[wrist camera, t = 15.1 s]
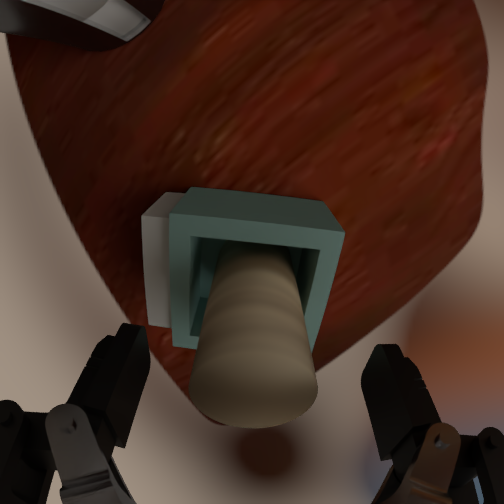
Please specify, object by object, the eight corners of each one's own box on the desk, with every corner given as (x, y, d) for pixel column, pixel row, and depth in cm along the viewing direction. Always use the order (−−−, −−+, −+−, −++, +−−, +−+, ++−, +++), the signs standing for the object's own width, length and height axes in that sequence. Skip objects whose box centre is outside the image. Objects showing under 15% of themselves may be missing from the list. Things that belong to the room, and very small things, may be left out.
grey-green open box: (191, 186, 16) (169, 213, 12) (323, 201, 16) (345, 232, 12) (188, 298, 19) (173, 345, 15) (299, 309, 19) (309, 358, 15)
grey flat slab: (166, 192, 16) (141, 215, 12) (190, 194, 16) (171, 218, 12) (166, 285, 19) (148, 324, 15) (188, 287, 19) (174, 328, 15)
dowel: (219, 225, 16) (184, 346, 8) (295, 231, 16) (332, 354, 8) (216, 289, 18) (192, 422, 9) (285, 295, 18) (303, 429, 10)
